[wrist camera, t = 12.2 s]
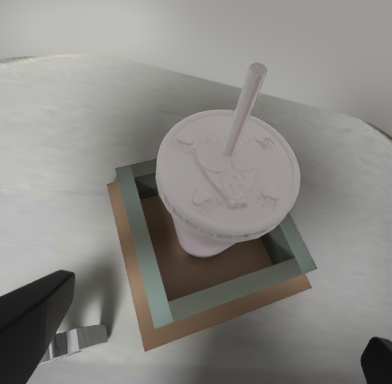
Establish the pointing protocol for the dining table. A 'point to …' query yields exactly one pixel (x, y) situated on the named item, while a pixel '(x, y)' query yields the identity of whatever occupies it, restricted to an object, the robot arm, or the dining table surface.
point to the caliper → (74, 342)
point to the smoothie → (226, 175)
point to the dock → (196, 265)
